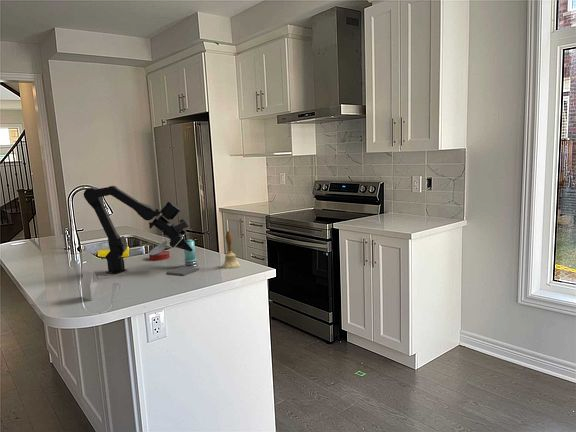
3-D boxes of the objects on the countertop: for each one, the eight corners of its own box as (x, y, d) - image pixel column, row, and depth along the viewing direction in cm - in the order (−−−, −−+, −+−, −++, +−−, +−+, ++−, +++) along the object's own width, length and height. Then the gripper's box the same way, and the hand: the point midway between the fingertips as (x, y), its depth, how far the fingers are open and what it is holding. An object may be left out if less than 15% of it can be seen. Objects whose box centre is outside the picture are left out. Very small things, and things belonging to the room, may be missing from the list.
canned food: (167, 268, 222) (165, 253, 216) (147, 267, 222) (144, 251, 216) (173, 253, 231) (171, 238, 225) (154, 252, 231) (151, 237, 225)
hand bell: (237, 268, 195) (234, 232, 193) (219, 268, 196) (216, 233, 194) (242, 263, 203) (240, 229, 201) (225, 263, 204) (223, 229, 202)
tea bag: (91, 300, 159) (88, 273, 158) (82, 297, 163) (79, 271, 162) (101, 297, 162) (98, 271, 161) (92, 295, 166) (89, 269, 165)
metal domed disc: (191, 268, 200) (191, 263, 200) (180, 267, 203) (180, 262, 203) (200, 264, 206) (200, 260, 205) (190, 263, 209) (189, 259, 208)
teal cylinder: (191, 262, 200) (189, 241, 199) (181, 261, 203) (179, 241, 202) (199, 259, 205) (197, 239, 204) (189, 258, 208) (188, 238, 206)
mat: (183, 275, 187) (183, 273, 187) (166, 273, 192) (165, 272, 192) (199, 269, 196) (199, 268, 196) (181, 268, 200) (181, 266, 200)
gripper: (175, 216, 191) (202, 240, 194) (180, 211, 210) (205, 233, 213) (157, 236, 192) (186, 259, 194) (164, 229, 210) (190, 250, 213)
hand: (192, 249), depth 203 cm, fingers closed on teal cylinder, 5 cm apart
